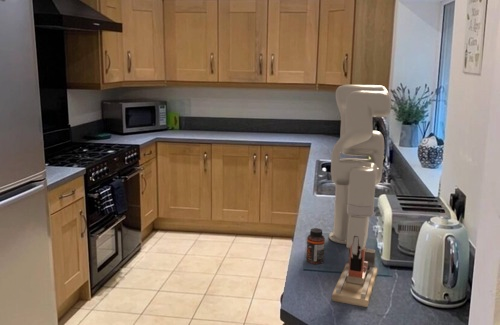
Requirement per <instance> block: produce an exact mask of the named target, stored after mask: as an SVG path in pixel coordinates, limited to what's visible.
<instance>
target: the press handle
mask: <svg viewBox="0 0 500 325" xmlns="http://www.w3.org/2000/svg"><path fill="white" fill-rule="evenodd" d="M366 244H367V243H366ZM366 244H365V247H364V249H363V250H362V252H361V258H362V266H361V271H360V272H359V271H353V270H350V262H351V253H352V245H351V247H350V248H349V249H350V261H349V272H348V274H347V282H350V283H356V284H362V285H364V282H365V279H366V276H367V267H368V261H364V260H365V248H366ZM358 248H360V247H358ZM358 252H359V251H358Z"/></svg>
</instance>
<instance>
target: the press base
mask: <svg viewBox="0 0 500 325" xmlns="http://www.w3.org/2000/svg"><path fill="white" fill-rule="evenodd" d="M376 251H377V250H376V249H372V248H366V247H365V260H364V261H368V267H367V276H366V279H365V282H364V285H362V284H356V283H350V282H347V274H348V272H349V261H350V248H349V250H348V261H347V262H346V263H345V265H344V268H343V270H342V272H341V274H340V276H339V278H338V281H337V283H336V284H335V287H334V289H333V292H332V295H331V296H332V297H331V301H332V302H337V303H343V304H348V305H353V306H359V307H365V308H368V307H369V303H370V299H371V296H372V293H373V290H374V286H375V282H376V279H377V277H378V276H377V275H378V267H376V266H375V264H376Z"/></svg>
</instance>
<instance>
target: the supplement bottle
mask: <svg viewBox="0 0 500 325" xmlns="http://www.w3.org/2000/svg"><path fill="white" fill-rule="evenodd" d="M309 233H310V234H308V235H307V239H306V240H307V241H306V255H305V256H306V257H305V258H306V259H305V260H306V262H308V263H309V264H311V265H320V264H323V262H324V260H325V242H326V238H325V236H324V235H323V229H321V228H318V227H315V228H314V227H313V228H310V232H309Z"/></svg>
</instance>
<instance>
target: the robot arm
mask: <svg viewBox="0 0 500 325" xmlns="http://www.w3.org/2000/svg"><path fill="white" fill-rule="evenodd" d="M335 102H336V105H337V108H338V111H339V114H340V134H339V135H340V136H339V139H337V141H336V142H335V144H334V145H333V148H332V151H331V158H330V178H331V182H333V183H334V185H335V196H334V198H335V199H334V213H333V214H334V215H333V216H334V217H333V231H331V232H330V233H329V234H328V235H329V236H328V238H329V240H330V241H332V242H334V243H336V244H341V245H346V248H347V249H350V247H351V245H352V253H351V262H350V270H353V271H359V272H360V271H361V266H362V258H361V252H362V250H363V249H364V247H365V248H366V246H365V244H367V241H368V236H369V235H368V234H369V223H370V218H371V217H374V213H375V211H374V208H375V194H376V185H378V184H380V183H381V181H382V177H383V170H384V169H383V168H384V167H383V166H384V156H385V139H384V135H383V134H382V132H381V131H378V130H374V128H373V127H374V126H373V117H374V118H386V117H388V116H389V115H390V114H391V111H392V99H391V94H390V93H389V91H388V89H387V88H386V87H385V86H383V85H380V84H379V85H377V84H376V85H375V84H343V85H340V86H338V87H337V88H336V90H335ZM342 154H343V155H345V156H355V157H368V158H354V157H353V158H352V157H345V158H341V155H342ZM369 158H370V159H369ZM358 247H360V248H358ZM358 251H359V252H358Z"/></svg>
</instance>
